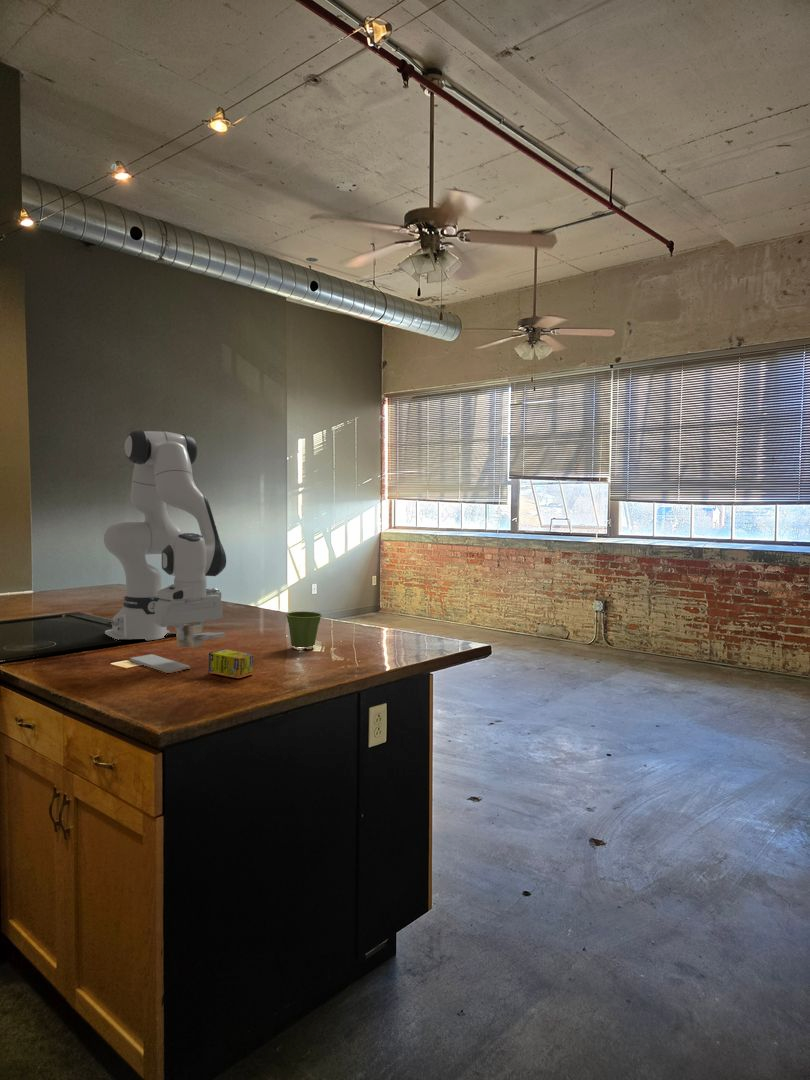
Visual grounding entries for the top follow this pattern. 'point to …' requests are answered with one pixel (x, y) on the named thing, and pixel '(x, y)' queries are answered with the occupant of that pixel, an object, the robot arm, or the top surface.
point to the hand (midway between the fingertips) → (189, 638)
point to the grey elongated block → (196, 636)
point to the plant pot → (303, 628)
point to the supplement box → (230, 662)
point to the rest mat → (159, 663)
